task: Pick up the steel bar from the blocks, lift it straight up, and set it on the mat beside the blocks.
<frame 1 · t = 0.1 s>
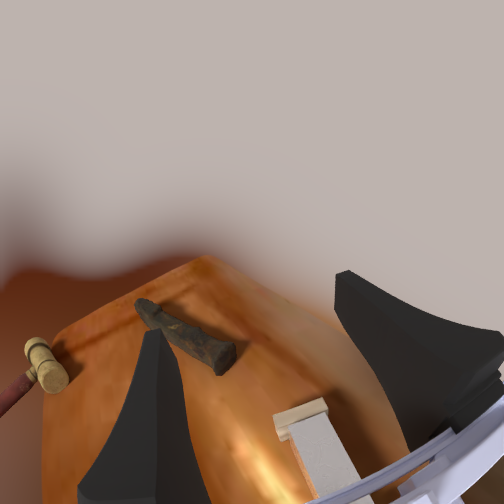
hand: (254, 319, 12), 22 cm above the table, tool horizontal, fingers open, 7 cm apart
steel bar: (326, 480, 22), on the table
hand tool: (178, 345, 42), on the table
gavel: (19, 402, 33), on the table
blocks: (326, 479, 22), on the table
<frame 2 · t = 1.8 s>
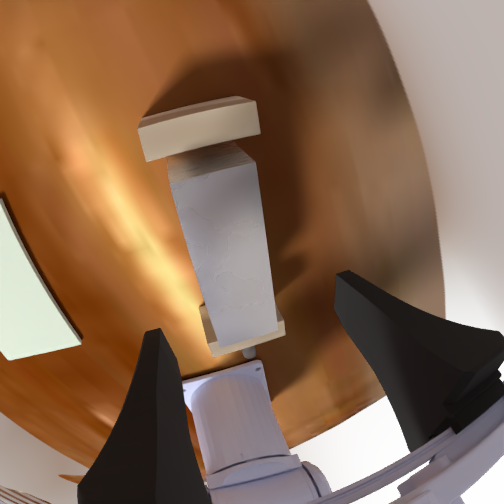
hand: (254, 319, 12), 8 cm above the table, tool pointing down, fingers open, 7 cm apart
steel bar: (215, 224, 19), on the table
mat: (1, 293, 16), on the table
blocks: (215, 226, 19), on the table
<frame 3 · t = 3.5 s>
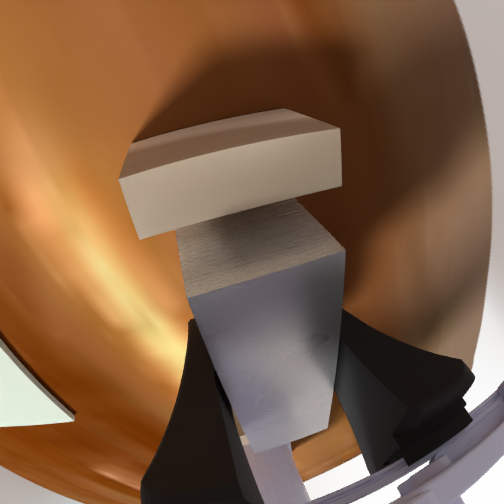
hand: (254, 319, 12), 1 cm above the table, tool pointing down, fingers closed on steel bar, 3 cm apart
steel bar: (244, 295, 13), on the table, touching gripper
blocks: (244, 296, 13), on the table
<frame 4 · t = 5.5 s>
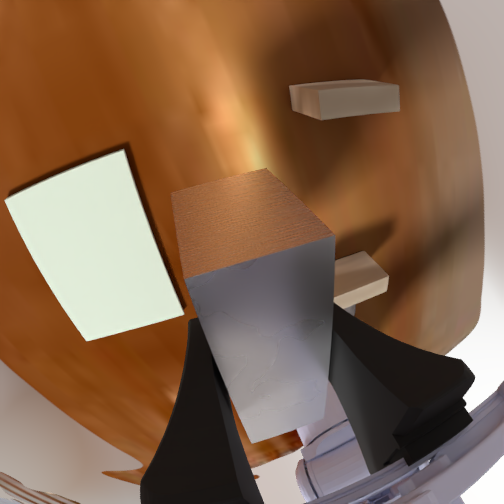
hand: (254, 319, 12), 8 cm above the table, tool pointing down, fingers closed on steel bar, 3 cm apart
steel bar: (241, 286, 14), point 6 cm above the table, touching gripper
mat: (97, 260, 18), on the table
blocks: (335, 190, 20), on the table
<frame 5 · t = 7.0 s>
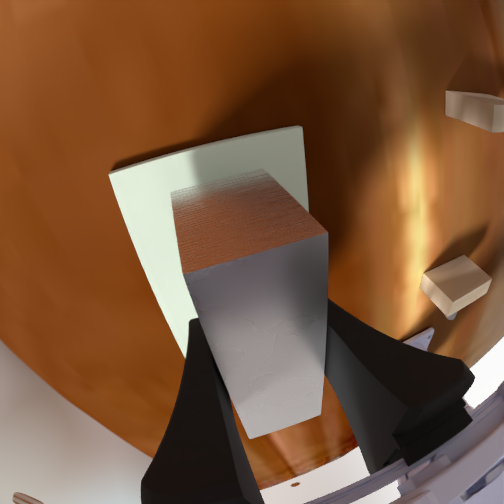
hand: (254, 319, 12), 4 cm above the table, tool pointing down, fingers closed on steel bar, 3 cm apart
steel bar: (239, 284, 14), point 2 cm above the table, touching gripper
mat: (231, 263, 15), on the table
blocks: (459, 196, 18), on the table
when the fingers open (3 cm above the table, at t = 7.9 s): steel bar stays where it is, resting on mat.
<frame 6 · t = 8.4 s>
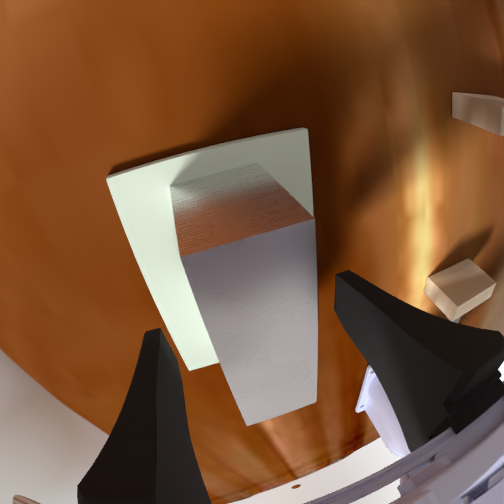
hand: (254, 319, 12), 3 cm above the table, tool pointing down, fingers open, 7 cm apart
steel bar: (236, 274, 15), resting on mat
mat: (233, 269, 15), on the table
blocks: (465, 199, 17), on the table
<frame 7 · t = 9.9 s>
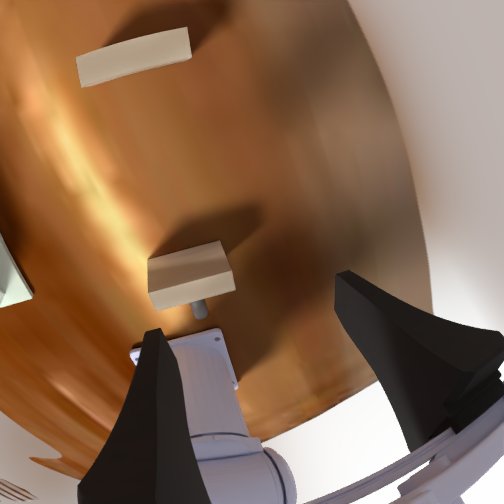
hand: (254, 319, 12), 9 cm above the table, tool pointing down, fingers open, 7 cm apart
blocks: (160, 167, 17), on the table
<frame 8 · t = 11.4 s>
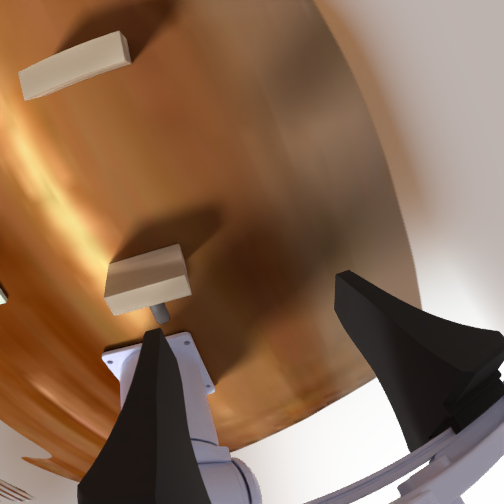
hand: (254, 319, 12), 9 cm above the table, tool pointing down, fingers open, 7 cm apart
blocks: (113, 172, 16), on the table
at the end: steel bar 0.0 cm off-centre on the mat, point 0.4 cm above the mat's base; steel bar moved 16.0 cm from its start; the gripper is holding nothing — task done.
